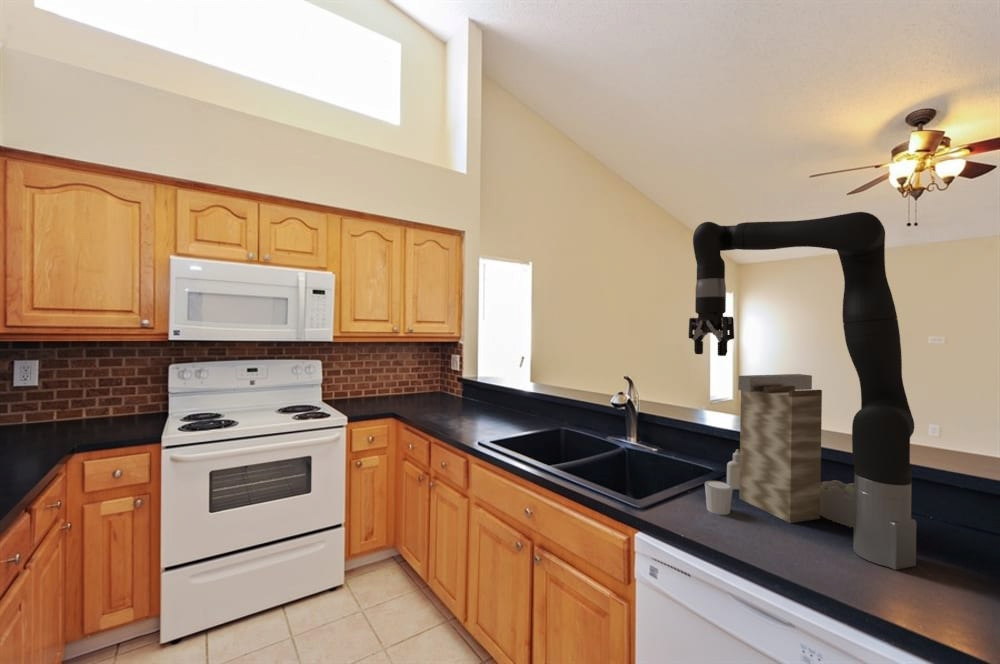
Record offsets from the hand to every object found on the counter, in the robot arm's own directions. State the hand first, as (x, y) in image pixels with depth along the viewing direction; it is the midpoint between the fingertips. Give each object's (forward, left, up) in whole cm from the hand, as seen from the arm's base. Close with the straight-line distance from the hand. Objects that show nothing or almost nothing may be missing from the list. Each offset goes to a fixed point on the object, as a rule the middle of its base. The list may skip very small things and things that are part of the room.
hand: (709, 355), depth 119 cm
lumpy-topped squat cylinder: (-15, -30, -42) cm, 54 cm away
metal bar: (-2, -21, -10) cm, 23 cm away
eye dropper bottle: (+9, -19, -42) cm, 47 cm away
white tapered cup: (-3, -1, -42) cm, 42 cm away
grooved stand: (-6, -18, -42) cm, 46 cm away
